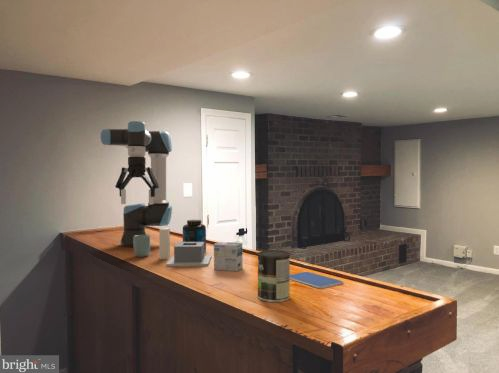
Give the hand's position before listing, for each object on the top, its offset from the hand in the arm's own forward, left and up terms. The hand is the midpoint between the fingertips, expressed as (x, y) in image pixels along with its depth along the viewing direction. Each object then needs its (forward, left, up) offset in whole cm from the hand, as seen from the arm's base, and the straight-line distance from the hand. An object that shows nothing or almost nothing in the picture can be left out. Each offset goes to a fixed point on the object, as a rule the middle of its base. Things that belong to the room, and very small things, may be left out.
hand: (137, 204), depth 172 cm
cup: (-15, -2, -26) cm, 30 cm away
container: (-26, +22, -26) cm, 43 cm away
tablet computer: (+31, +73, -27) cm, 84 cm away
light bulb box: (+12, +41, -27) cm, 50 cm away
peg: (-10, +10, -26) cm, 30 cm away
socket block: (-2, +23, -26) cm, 35 cm away
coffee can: (+51, +57, -26) cm, 81 cm away
